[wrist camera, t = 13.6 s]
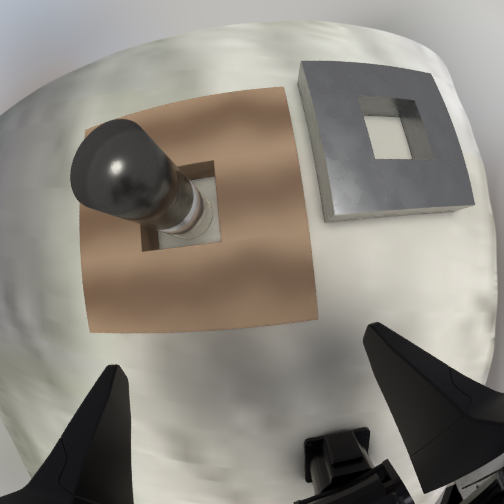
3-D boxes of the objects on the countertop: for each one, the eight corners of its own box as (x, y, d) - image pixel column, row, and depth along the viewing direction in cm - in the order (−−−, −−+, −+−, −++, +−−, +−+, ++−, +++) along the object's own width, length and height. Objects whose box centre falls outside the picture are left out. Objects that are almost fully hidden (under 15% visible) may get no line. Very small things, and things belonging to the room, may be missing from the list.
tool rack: (310, 310, 22) (318, 319, 18) (110, 324, 22) (90, 332, 19) (282, 108, 23) (283, 86, 19) (103, 143, 23) (85, 129, 20)
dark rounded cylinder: (222, 216, 22) (167, 156, 9) (186, 248, 22) (95, 230, 9) (192, 182, 23) (120, 103, 10) (158, 214, 23) (59, 167, 10)
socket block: (453, 211, 21) (474, 205, 18) (324, 222, 22) (335, 215, 18) (417, 90, 22) (431, 73, 18) (297, 83, 23) (300, 60, 19)
